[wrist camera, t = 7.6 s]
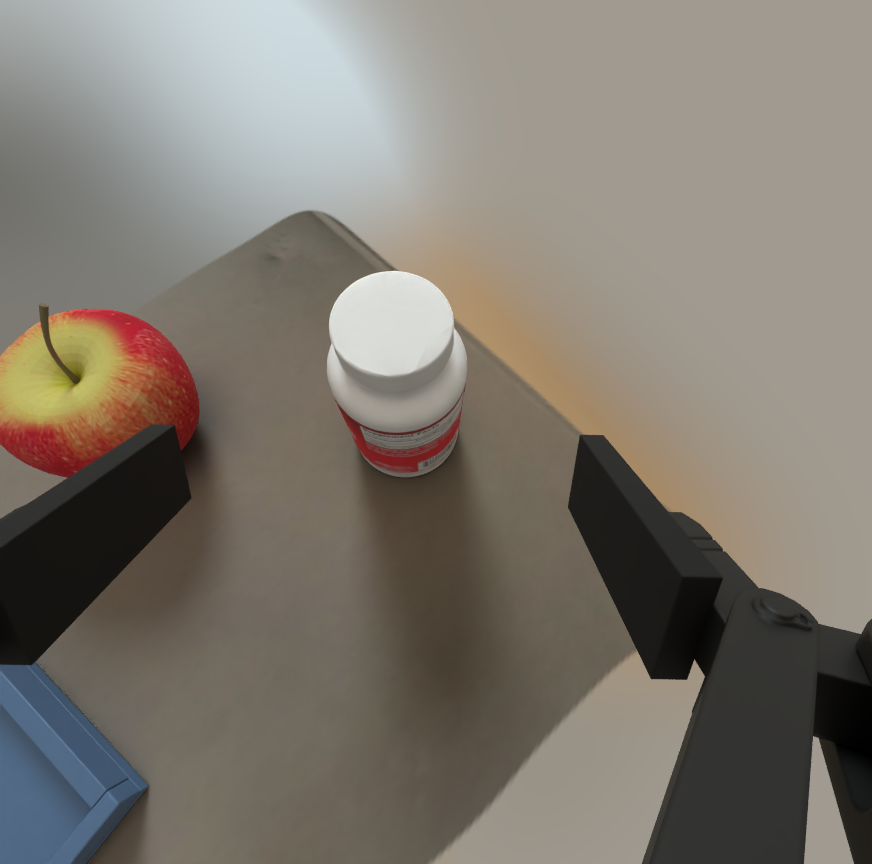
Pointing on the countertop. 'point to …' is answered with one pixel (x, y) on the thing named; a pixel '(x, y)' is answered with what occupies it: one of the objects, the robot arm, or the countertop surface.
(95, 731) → the medicine tray
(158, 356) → the apple
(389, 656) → the countertop surface
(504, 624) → the countertop surface
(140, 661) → the countertop surface
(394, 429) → the pill bottle
